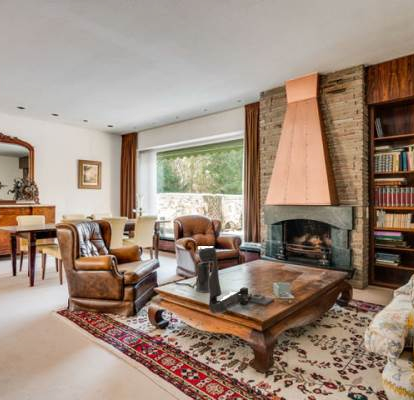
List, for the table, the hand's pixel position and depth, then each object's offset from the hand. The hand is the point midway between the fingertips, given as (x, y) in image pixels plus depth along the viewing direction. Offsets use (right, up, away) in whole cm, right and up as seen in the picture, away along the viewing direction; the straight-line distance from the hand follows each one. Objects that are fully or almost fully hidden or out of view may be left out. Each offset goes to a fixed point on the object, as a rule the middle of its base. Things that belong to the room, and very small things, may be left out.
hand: (245, 293), depth 208 cm
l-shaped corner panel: (+31, -6, +16) cm, 36 cm away
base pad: (+9, -6, +5) cm, 12 cm away
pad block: (-1, -6, -1) cm, 6 cm away
